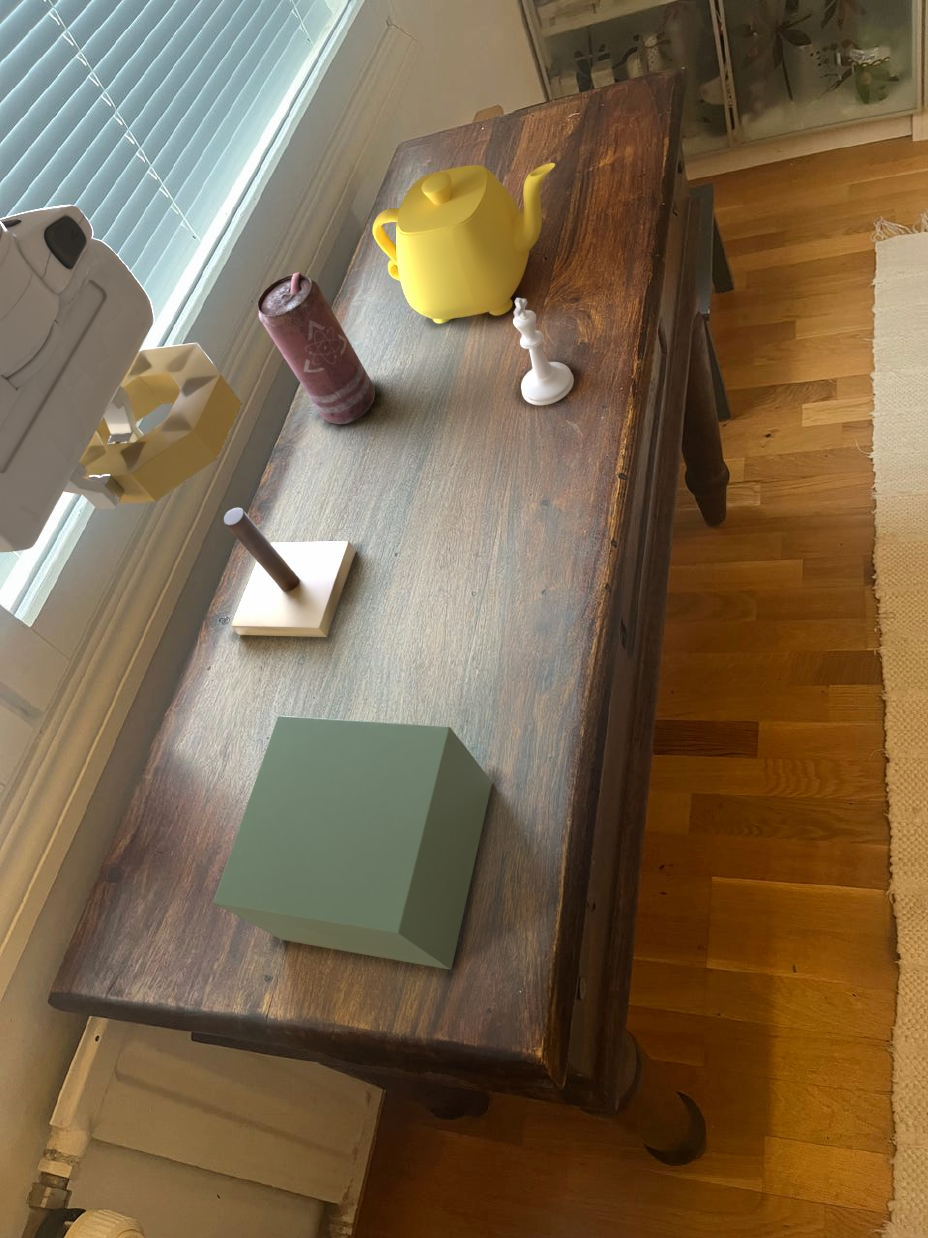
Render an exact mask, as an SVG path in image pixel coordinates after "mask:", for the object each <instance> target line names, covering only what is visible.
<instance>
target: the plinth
mask: <svg viewBox="0 0 928 1238" xmlns="http://www.w3.org/2000/svg"><path fill="white" fill-rule="evenodd" d="M492 786H493V781H492V779H491V778H490V777H489V776H488V774H487V773H486V772H485V770H484V769H483V767H481V765H480V764H479V762H478V761H477V760H476V759H475V757H474V756H473V755H472V753H471V752H470V751H469V749H468V748H467V747H466V746H465V744H464V743H463V742H462V740H461V739H460V738H459V737H458V735H457V734H456V732H455V731H454V730H453V728H452V727H451V726H446V725H444V726H443V725H430V724H428V725H427V724H413V723H401V722H400V723H398V722H384V721H383V722H382V721H365V720H354V719H353V720H352V719H335V718H323V717H322V718H320V717H307V716H306V717H305V716H293V715H291V716H289V715H278V716H277V718H276V721H275V724H274V727H273V729H272V731H271V735H270V738H269V741H268V744H267V747H266V749H265V752H264V755H263V757H262V761H261V764H260V767H259V770H258V773H257V776H256V778H255V781H254V784H253V787H252V790H251V793H250V795H249V798H248V801H247V804H246V807H245V810H244V812H243V816H242V818H241V821H240V824H239V827H238V830H237V832H236V835H235V839H234V841H233V844H232V847H231V850H230V853H229V855H228V858H227V861H226V864H225V867H224V870H223V873H222V875H221V878H220V881H219V884H218V887H217V890H216V893H215V896H214V899H213V901H212V903H213V904H214V905H216V906H218V907H219V908H222V909H224V910H226V911H228V912H230V913H231V914H232V915H235V916H236V917H239V918H241V919H243V920H244V921H246V922H248V923H250V924H251V925H254V926H255V927H257V928H259V929H261V930H262V931H265V932H266V933H269V934H270V935H271V936H274V937H276V938H278V939H279V940H282V941H286V942H293V943H297V944H304V945H310V946H316V947H320V948H325V949H331V950H338V951H342V952H343V951H344V952H348V953H354V954H360V955H365V956H372V957H377V958H383V959H389V960H394V961H400V962H405V963H411V964H417V965H421V966H427V967H434V968H438V969H445V970H452V969H453V964H454V961H455V960H454V959H455V955H456V951H457V946H458V941H459V937H460V931H461V928H462V922H463V919H464V914H465V909H466V905H467V900H468V896H469V891H470V887H471V881H472V876H473V872H474V868H475V863H476V858H477V854H478V850H479V849H478V848H479V845H480V841H481V836H482V831H483V827H484V822H485V818H486V812H487V808H488V803H489V798H490V794H491V789H492Z"/></svg>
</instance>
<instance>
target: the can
mask: <svg viewBox="0 0 928 1238" xmlns="http://www.w3.org/2000/svg"><path fill="white" fill-rule="evenodd" d="M256 305H257V310H258V319H259V321H260V322H261V323H262V325H263V326H264V328H265V330H266V332H267V333H268V334H269V336H270V338H271V339H272V341H273V342H274V344H275V346H276V347H277V349H278V351H279V352H280V353H281V355H282V357H283V359H285V361H286V363H287V364H288V366H289V367H290V369H291V370H292V372H293V374H294V376H295V377H296V379H297V380H298V382H299V383H300V385H301V386H302V388H303V389H304V391H305V392H306V394H307V395H308V397H309V399H310V401H311V402H312V403H313V405H314V406H315V408H316V410H317V411H318V413H319V415H320V416H321V417H322V420H325V421H326V422H328V423H331V424H334V425H347V424H350V423H353V422H355V421H357V420H359V419H361V418H362V417H363V416H365V414H366V413H367V412H369V410H370V409H371V407H372V406H373V404H374V401H375V395H376V389H375V385H374V383H373V382H372V380H371V378H370V376H369V374H368V373H367V371H366V369H365V367H364V365H363V364H362V361H361V360H360V358H359V356H358V355H357V353H356V351H355V349H354V347H353V345H352V344H351V342H350V340H349V338H348V337H347V335H346V333H345V332H344V329H343V328H342V326H341V324H340V322H339V320H338V319H337V317H336V315H335V313H334V312H333V310H332V308H331V306H330V304H329V302H328V301H327V299H326V297H325V295H324V293H323V291H322V289H321V288H320V286H319V285H318V283H317V282H316V281H314V280H312V279H311V278H310V277H309V276H308V275H305V274H303V273H302V272H300V271H299V272H294V273H293V274H288V275H286V276H283V277H281V278H278V279H277V280H275V281H274V282H272V283H270V285H268V286H267V287H266V288H265V289H264V290H263V292H261V294H260V295H259V298H258V300H257V304H256Z"/></svg>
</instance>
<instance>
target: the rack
mask: <svg viewBox="0 0 928 1238" xmlns="http://www.w3.org/2000/svg"><path fill="white" fill-rule="evenodd" d="M223 523H224V525H225V526H226V527H227V528H228V530H229V531H230V532H231V533H232V534H233V535H234V537H236V539H237V540H238V541H239V542H240V544H242V545H243V547H244V548H245V549H246V550H247V551H248V553H249V554H250V555H251V556H252V557H253V558H254V559H255V564H254V567H253V569H252V572H251V574H250V576H249V579H248V582H247V584H246V587H245V589H244V592H243V594H242V596H241V599H240V602H239V605H238V607H237V610H236V612H235V614H234V616H233V619H232V622H231V624H230V628H232V629H233V630H234V631H235V632H236V634H238V635H240V636H269V637H270V636H276V637H309V638H311V637H312V638H313V637H314V638H315V637H316V638H328V635H329V631H330V629H331V625H332V622H333V620H334V616H335V614H336V611H337V609H338V605H339V602H340V599H341V596H342V593H343V590H344V587H345V584H346V581H347V578H348V576H349V572H350V570H351V567H352V563H353V560H354V558H355V554H356V549H355V548H354V546H353V545H352V543H351V542H350V541H349V540H339V541H338V540H336V541H335V540H333V541H293V542H291V541H289V542H287V541H286V542H285V541H284V542H270V541H269V539H268V538H267V537H266V536H265V534H263V532H262V531H261V530H260V528H258V526H257V525H256V523H254V522H253V520H252V519H251V518H250V517H249V515H248V514H247V513H246V512H245V510H244V509H243V508H241V507H234V508H232V509H230V510H228V511H227V512H226V513H225V515H224V517H223Z"/></svg>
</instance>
